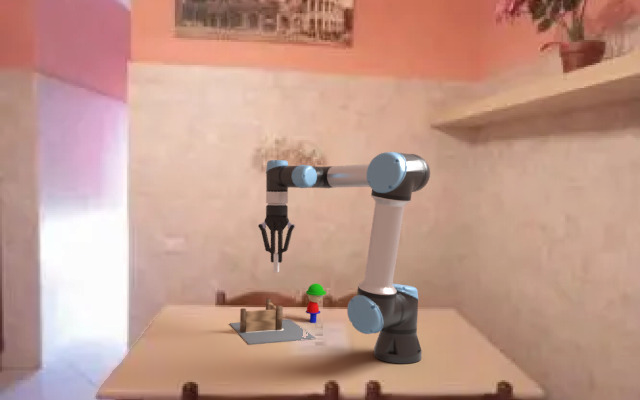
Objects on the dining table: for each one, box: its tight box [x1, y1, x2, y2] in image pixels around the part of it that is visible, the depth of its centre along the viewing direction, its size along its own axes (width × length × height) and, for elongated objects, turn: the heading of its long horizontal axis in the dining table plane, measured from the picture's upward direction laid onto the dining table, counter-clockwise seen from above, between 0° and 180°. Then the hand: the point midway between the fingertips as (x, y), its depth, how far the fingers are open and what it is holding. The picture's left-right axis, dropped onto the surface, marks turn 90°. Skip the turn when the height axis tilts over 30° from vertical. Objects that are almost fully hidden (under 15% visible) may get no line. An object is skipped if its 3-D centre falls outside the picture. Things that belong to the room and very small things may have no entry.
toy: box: [305, 283, 327, 324], centre depth 225 cm, size 8×8×15 cm
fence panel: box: [239, 307, 276, 332], centre depth 207 cm, size 13×2×8 cm, turn 112°
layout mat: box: [229, 318, 316, 346], centre depth 209 cm, size 28×24×1 cm
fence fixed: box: [265, 298, 284, 330], centre depth 216 cm, size 16×2×9 cm, turn 22°
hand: (276, 271), depth 200 cm, fingers closed
